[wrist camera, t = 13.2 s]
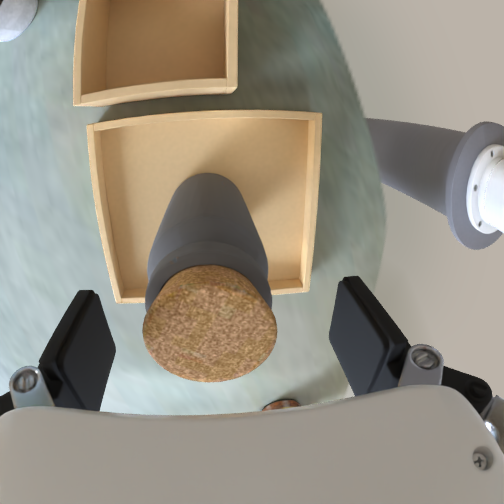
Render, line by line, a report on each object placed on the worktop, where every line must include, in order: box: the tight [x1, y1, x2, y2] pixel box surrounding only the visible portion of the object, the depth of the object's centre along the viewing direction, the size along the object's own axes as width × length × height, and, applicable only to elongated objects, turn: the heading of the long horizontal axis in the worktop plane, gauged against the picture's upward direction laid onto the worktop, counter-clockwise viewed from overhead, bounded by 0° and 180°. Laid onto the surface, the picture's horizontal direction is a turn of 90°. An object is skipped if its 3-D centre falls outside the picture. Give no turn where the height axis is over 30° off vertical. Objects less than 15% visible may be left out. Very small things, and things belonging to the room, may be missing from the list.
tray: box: [87, 110, 322, 304], centre depth 23 cm, size 17×15×2 cm
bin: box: [73, 0, 238, 107], centre depth 15 cm, size 10×10×5 cm
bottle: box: [143, 173, 277, 382], centre depth 17 cm, size 6×6×15 cm
